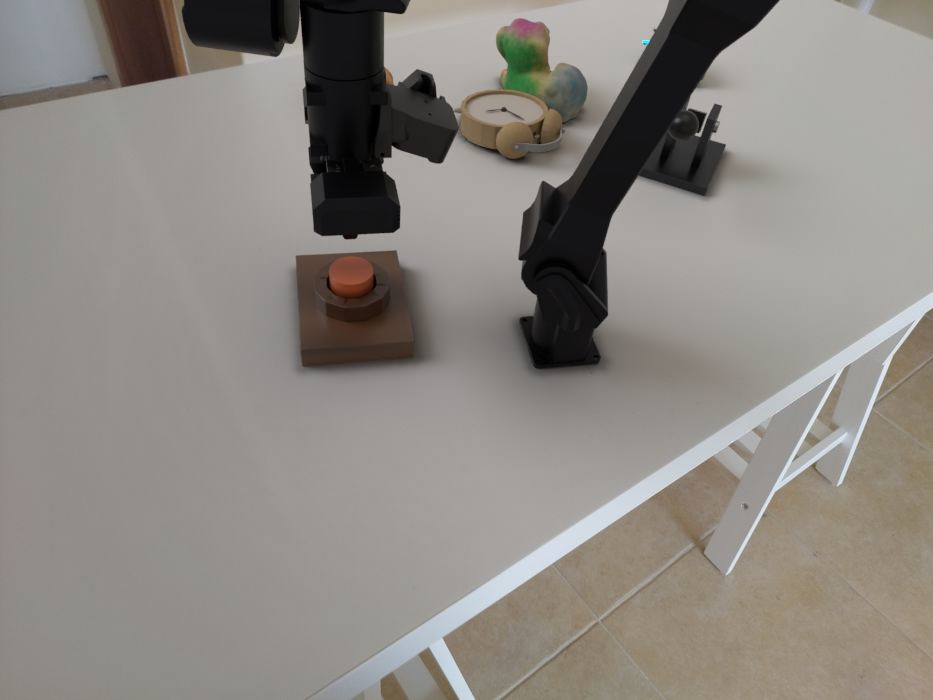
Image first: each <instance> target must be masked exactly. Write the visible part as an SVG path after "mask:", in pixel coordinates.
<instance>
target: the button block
mask: <svg viewBox="0 0 933 700" xmlns="http://www.w3.org/2000/svg"><path fill="white" fill-rule="evenodd" d="M349 256H353V257H360V258H363V259H365V260H367V261H368V262H369V263H370V264H371V265H372V267H373V280H374V285H373V289H372V291H371V292H370V293H369V294H367V295H365V296H363V297H361V298H350V299H346V298H343V297H340V296H337V295H336V294H334V293H333V292H332V290H331V288H330V280H329V268H330V266H331V264H332V263H333V262H334V261H336V260H338V259H340V258H343V257H349ZM295 273H296V291H297V292H296V293H297V309H298V310H297V313H298V330H299V331H298V332H299V333H298V334H299V350H300V351H299V352H300V359H301V366H302V367H312V366H313V367H314V366H324V365H336V364H350V363H362V362H363V363H364V362H374V361H388V360H400V359H412V358H414V357H415V336H414V330H413V327H412V326H413V325H412V322H411V316H410V312H409V306H408V301H407V296H406V291H405V287H404V286H405V285H404V281H403V276H402V271H401V266H400V261H399V255H398V251H397V250H395V249H394V250H379V251H378V250H377V251H376V250H375V251H373V250H372V251H356V252H338V253H336V252H335V253H318V254H298V255H297V254H296V255H295Z"/></svg>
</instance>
